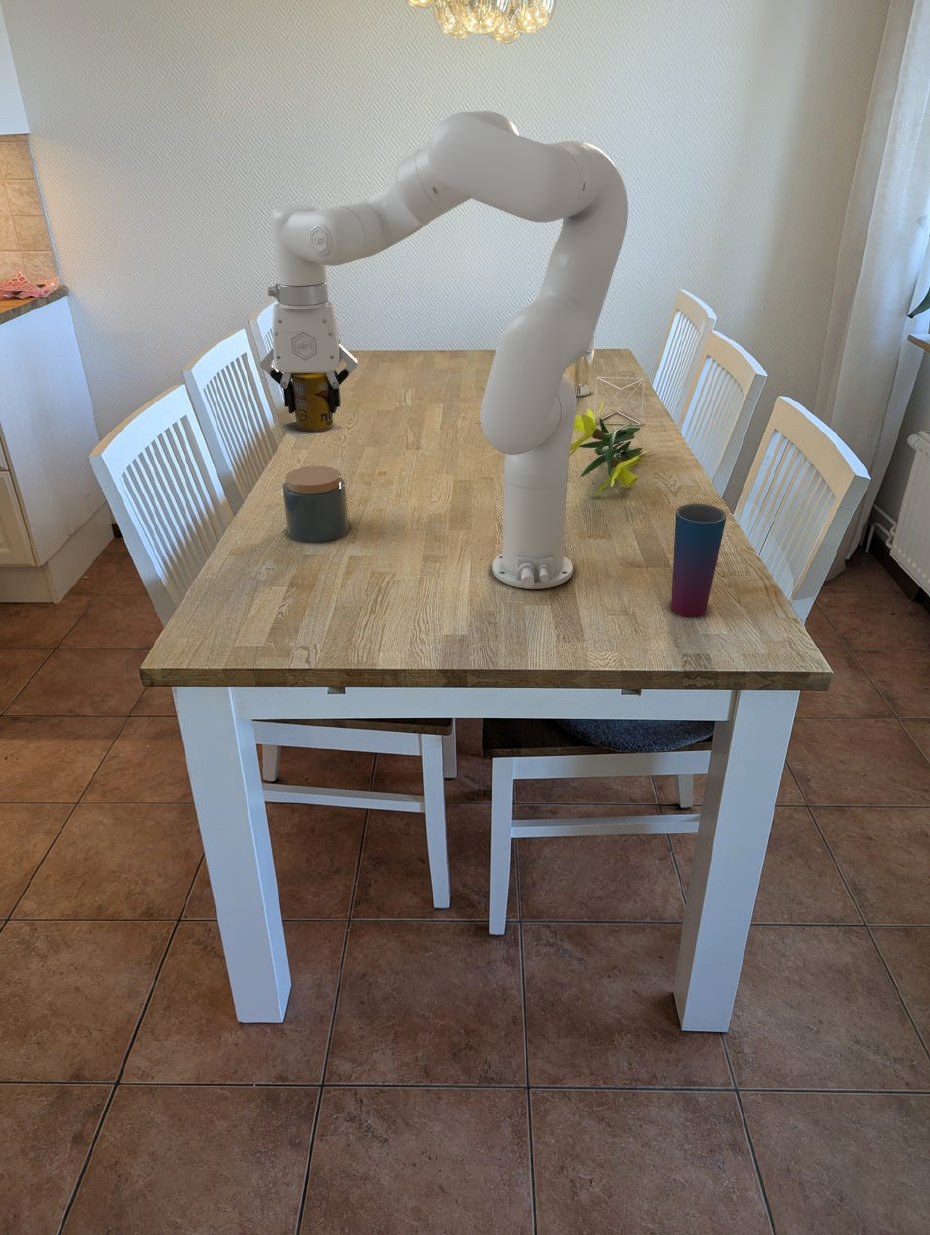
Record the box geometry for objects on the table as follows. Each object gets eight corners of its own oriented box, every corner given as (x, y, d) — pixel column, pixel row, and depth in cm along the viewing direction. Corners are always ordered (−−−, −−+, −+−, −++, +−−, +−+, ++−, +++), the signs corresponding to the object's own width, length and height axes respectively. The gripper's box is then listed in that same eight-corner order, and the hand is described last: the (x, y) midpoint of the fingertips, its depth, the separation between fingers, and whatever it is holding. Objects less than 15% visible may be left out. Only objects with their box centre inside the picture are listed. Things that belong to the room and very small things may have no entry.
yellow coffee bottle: (343, 429, 149) (337, 355, 143) (295, 439, 145) (287, 362, 139) (323, 418, 154) (317, 345, 148) (276, 427, 150) (268, 353, 144)
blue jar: (344, 542, 153) (340, 486, 148) (282, 542, 153) (276, 486, 148) (351, 517, 162) (347, 464, 157) (293, 518, 162) (287, 464, 157)
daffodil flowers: (677, 462, 188) (656, 475, 156) (613, 493, 194) (579, 512, 162) (643, 387, 187) (614, 385, 155) (579, 420, 193) (538, 425, 161)
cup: (678, 592, 137) (690, 499, 130) (720, 606, 134) (735, 511, 126) (656, 610, 133) (667, 514, 125) (699, 625, 129) (712, 527, 121)
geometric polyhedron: (653, 419, 211) (656, 380, 206) (629, 431, 203) (633, 390, 199) (606, 410, 217) (608, 371, 213) (581, 421, 210) (584, 381, 206)
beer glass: (558, 391, 231) (561, 330, 224) (582, 388, 234) (585, 327, 226) (572, 398, 226) (575, 336, 218) (596, 395, 228) (600, 333, 221)
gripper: (240, 299, 136) (255, 418, 145) (356, 299, 136) (364, 417, 145) (251, 290, 143) (264, 404, 152) (362, 290, 143) (368, 404, 151)
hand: (313, 409), depth 148 cm, fingers closed on yellow coffee bottle, 6 cm apart
